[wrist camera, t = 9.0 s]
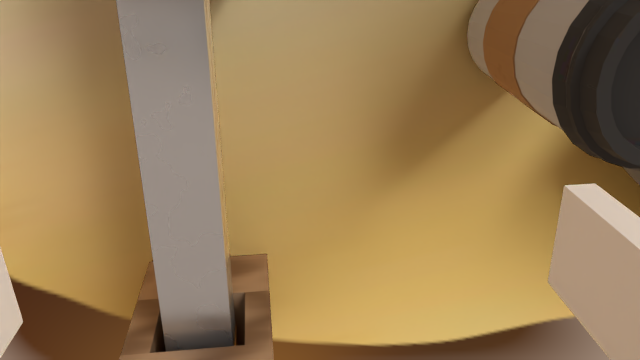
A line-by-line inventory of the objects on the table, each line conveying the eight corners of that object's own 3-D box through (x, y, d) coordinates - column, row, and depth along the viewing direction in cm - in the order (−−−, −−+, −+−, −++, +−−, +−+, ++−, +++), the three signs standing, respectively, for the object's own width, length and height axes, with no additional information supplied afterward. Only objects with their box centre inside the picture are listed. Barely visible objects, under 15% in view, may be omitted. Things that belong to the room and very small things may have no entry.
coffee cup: (433, 82, 35) (551, 168, 22) (469, -57, 32) (634, -61, 19) (550, 102, 37) (731, 193, 23) (595, -29, 34) (834, -15, 20)
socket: (266, 254, 39) (273, 361, 29) (270, 324, 41) (277, 446, 31) (149, 261, 38) (113, 375, 28) (160, 333, 40) (130, 462, 30)
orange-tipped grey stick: (204, -83, 26) (197, -88, 22) (238, 351, 35) (237, 393, 32) (121, -83, 25) (101, -88, 22) (179, 356, 35) (171, 400, 31)
